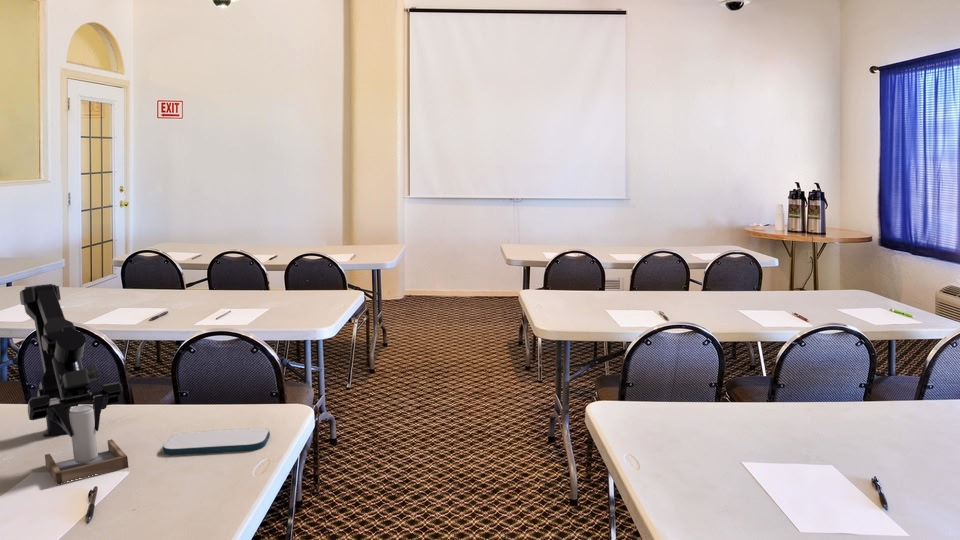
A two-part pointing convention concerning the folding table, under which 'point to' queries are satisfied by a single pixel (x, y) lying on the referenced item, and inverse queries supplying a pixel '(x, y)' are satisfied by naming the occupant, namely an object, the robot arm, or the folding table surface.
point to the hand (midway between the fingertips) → (84, 433)
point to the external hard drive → (216, 441)
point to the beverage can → (83, 433)
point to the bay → (88, 465)
